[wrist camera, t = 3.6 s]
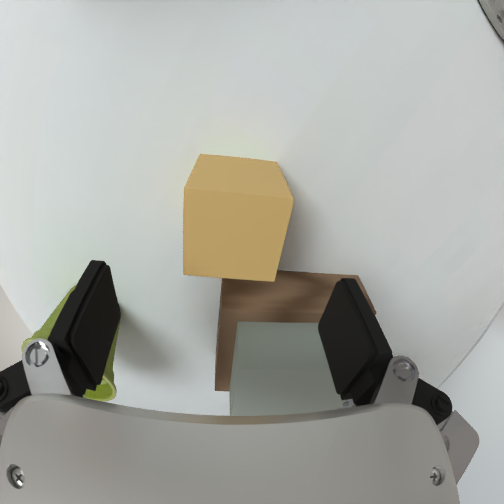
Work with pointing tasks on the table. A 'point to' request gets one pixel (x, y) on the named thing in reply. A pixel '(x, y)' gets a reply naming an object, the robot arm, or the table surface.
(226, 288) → the tower base
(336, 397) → the tower top
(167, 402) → the table surface
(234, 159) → the ochre block
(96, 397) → the plant pot
